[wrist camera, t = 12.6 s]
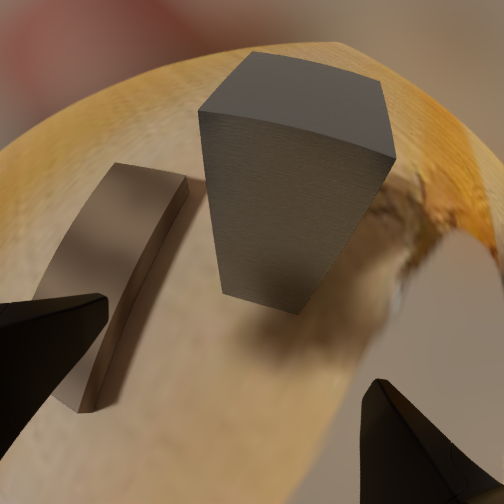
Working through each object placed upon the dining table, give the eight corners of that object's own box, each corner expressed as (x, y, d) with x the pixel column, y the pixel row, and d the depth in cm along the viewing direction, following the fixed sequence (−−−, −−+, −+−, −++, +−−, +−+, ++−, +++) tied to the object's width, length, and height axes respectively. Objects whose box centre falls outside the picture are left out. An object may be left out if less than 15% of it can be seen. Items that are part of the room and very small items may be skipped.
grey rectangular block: (298, 314, 17) (396, 158, 6) (222, 293, 18) (197, 110, 6) (312, 248, 19) (380, 81, 8) (244, 230, 20) (252, 51, 8)
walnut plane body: (93, 412, 13) (77, 413, 11) (26, 364, 14) (10, 359, 12) (189, 192, 21) (185, 175, 20) (121, 177, 22) (115, 162, 20)
